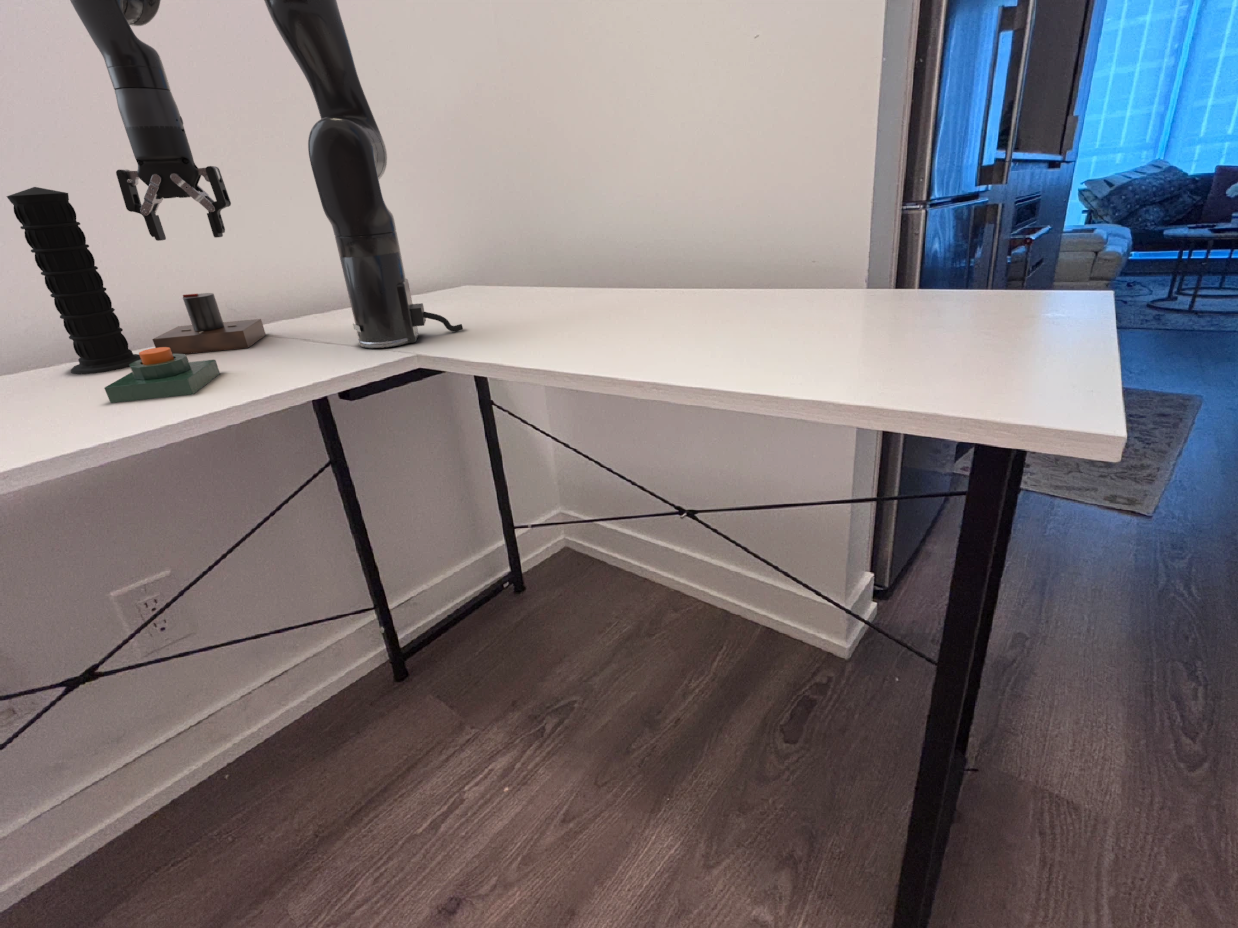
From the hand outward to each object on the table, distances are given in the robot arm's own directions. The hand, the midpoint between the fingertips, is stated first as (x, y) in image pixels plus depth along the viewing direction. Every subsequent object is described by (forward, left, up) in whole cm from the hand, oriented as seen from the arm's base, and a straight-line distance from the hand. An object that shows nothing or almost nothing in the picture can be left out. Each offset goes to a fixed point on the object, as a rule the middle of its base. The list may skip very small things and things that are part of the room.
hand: (190, 238), depth 101 cm
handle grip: (+15, +6, -18) cm, 24 cm away
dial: (+2, -2, -15) cm, 15 cm away
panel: (+2, -2, -18) cm, 18 cm away
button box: (-1, +24, -18) cm, 30 cm away
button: (-1, +24, -14) cm, 28 cm away
